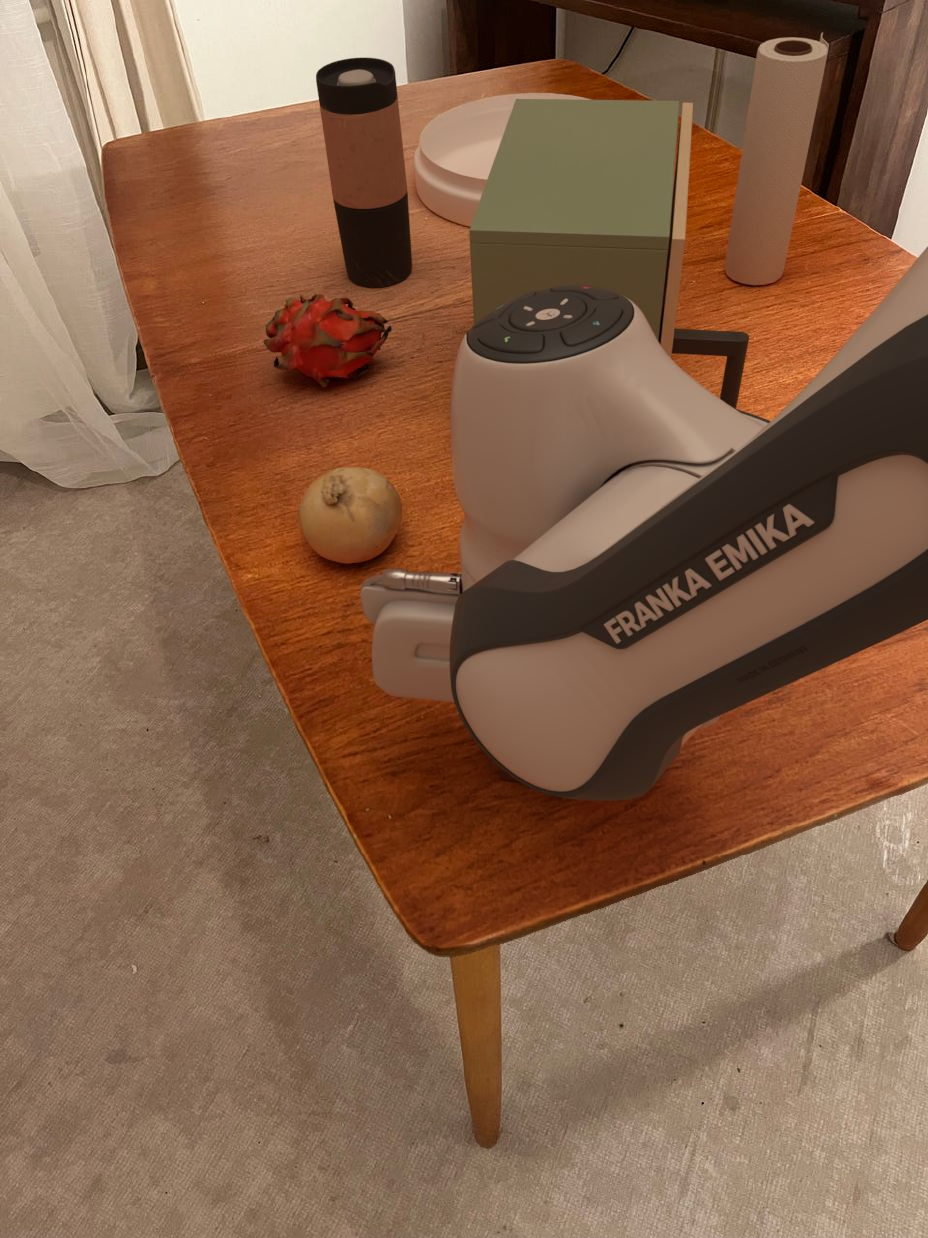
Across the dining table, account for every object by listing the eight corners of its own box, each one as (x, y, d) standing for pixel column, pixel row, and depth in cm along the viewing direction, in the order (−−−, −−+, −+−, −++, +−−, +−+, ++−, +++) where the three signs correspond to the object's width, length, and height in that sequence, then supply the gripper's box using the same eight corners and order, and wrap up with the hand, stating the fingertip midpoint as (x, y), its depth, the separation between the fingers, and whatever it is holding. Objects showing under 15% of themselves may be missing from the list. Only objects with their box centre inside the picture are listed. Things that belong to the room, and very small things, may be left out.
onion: (300, 518, 80) (284, 449, 75) (396, 500, 81) (386, 430, 75) (312, 586, 74) (295, 517, 69) (414, 566, 75) (405, 496, 70)
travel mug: (337, 261, 108) (307, 64, 93) (404, 248, 109) (384, 51, 95) (353, 294, 103) (323, 91, 88) (423, 280, 104) (405, 77, 90)
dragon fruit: (265, 391, 95) (388, 388, 97) (265, 386, 87) (400, 383, 89) (259, 299, 93) (384, 298, 96) (259, 286, 85) (396, 285, 87)
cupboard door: (728, 314, 97) (762, 103, 82) (728, 469, 81) (771, 241, 66) (660, 311, 98) (682, 102, 83) (647, 464, 82) (672, 238, 67)
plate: (612, 244, 108) (615, 194, 104) (383, 220, 114) (378, 173, 110) (657, 143, 125) (661, 97, 121) (456, 127, 131) (453, 83, 127)
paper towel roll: (736, 291, 100) (774, 61, 84) (715, 262, 104) (747, 38, 88) (803, 280, 100) (854, 51, 85) (779, 252, 104) (823, 29, 89)
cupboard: (657, 313, 98) (679, 100, 83) (644, 465, 82) (669, 236, 67) (518, 306, 100) (515, 98, 85) (480, 454, 84) (468, 229, 69)
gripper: (340, 610, 51) (373, 759, 61) (742, 648, 48) (706, 799, 58) (369, 528, 55) (395, 681, 66) (741, 558, 52) (707, 714, 62)
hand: (544, 737), depth 62 cm, fingers closed on block, 5 cm apart
